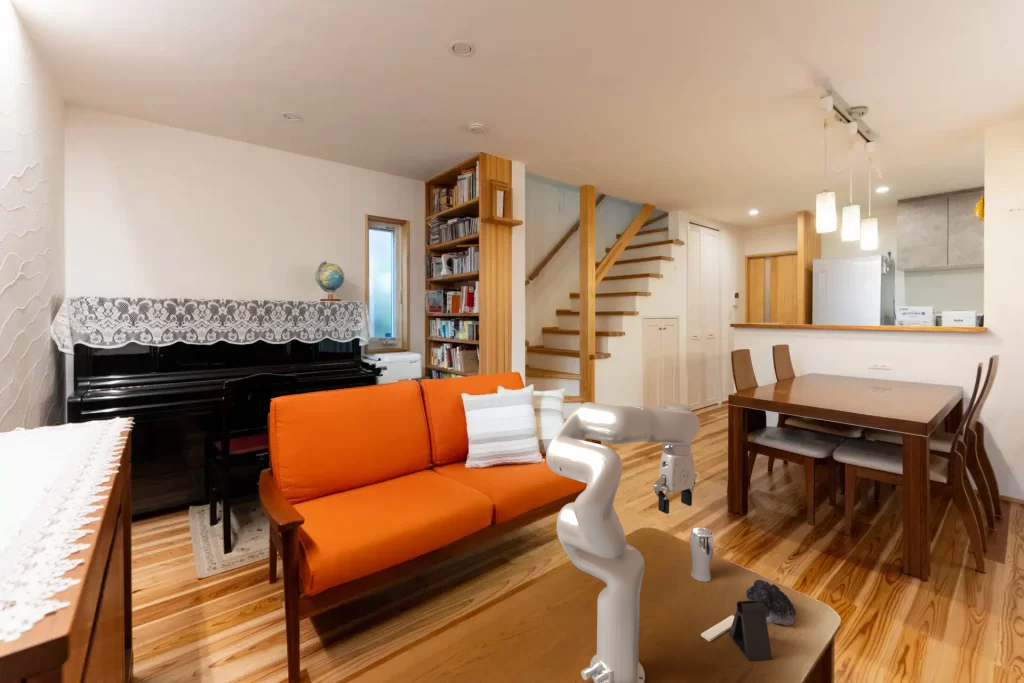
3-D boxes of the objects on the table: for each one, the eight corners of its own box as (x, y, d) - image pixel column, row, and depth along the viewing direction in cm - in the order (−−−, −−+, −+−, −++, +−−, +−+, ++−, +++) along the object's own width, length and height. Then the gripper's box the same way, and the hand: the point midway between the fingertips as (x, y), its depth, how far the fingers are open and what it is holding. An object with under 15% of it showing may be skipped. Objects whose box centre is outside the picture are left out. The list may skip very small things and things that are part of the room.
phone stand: (772, 660, 110) (774, 613, 109) (749, 661, 109) (750, 614, 108) (750, 634, 119) (751, 590, 118) (728, 635, 118) (730, 591, 117)
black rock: (772, 597, 136) (769, 564, 136) (811, 623, 122) (807, 586, 122) (734, 606, 133) (731, 573, 133) (770, 634, 119) (766, 596, 120)
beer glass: (690, 580, 142) (691, 535, 142) (688, 568, 149) (689, 525, 148) (714, 584, 140) (715, 538, 139) (711, 572, 147) (712, 528, 146)
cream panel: (709, 641, 116) (709, 639, 116) (700, 635, 118) (701, 633, 118) (740, 622, 123) (740, 620, 123) (731, 616, 125) (731, 614, 125)
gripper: (666, 457, 117) (665, 520, 118) (707, 447, 126) (706, 506, 127) (644, 449, 124) (643, 510, 125) (685, 440, 133) (683, 497, 134)
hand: (675, 508), depth 126 cm, fingers open, 9 cm apart
